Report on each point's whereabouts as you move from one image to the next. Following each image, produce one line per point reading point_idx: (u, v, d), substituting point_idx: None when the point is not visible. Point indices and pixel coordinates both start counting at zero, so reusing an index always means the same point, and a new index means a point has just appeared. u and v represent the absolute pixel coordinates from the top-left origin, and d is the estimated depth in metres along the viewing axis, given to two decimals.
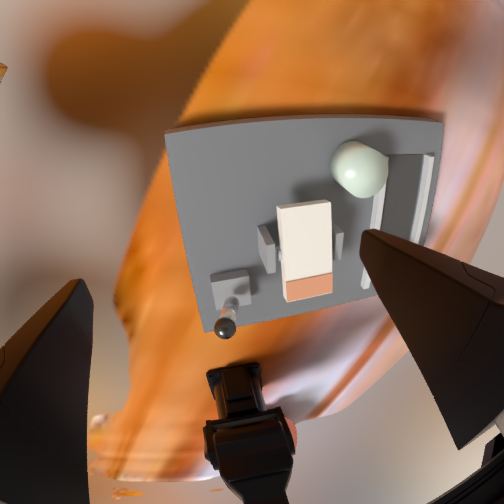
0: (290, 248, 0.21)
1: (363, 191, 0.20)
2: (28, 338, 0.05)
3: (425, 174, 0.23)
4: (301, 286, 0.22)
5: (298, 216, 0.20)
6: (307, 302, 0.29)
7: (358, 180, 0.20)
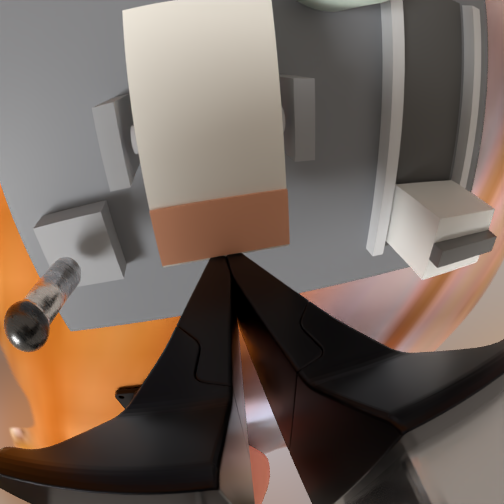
0: (152, 111, 0.06)
1: None
2: (214, 314, 0.06)
3: (471, 35, 0.08)
4: (194, 225, 0.08)
5: (172, 25, 0.06)
6: None
7: None
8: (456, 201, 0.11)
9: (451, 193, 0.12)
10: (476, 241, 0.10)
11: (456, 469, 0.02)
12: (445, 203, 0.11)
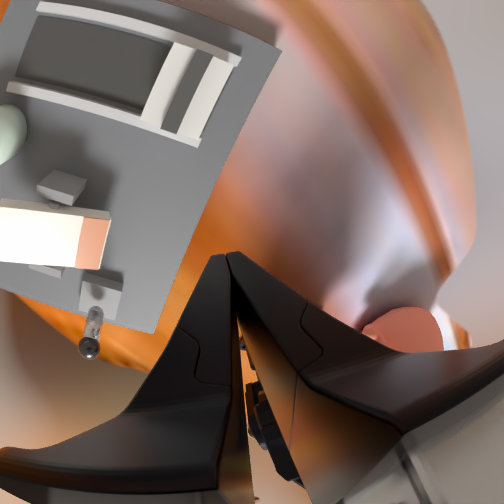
0: (38, 257, 0.15)
1: (0, 148, 0.12)
2: (214, 314, 0.06)
3: (58, 13, 0.10)
4: (85, 254, 0.17)
5: (7, 245, 0.13)
6: (174, 228, 0.20)
7: None
8: None
9: None
10: (180, 81, 0.12)
11: (456, 469, 0.02)
12: None
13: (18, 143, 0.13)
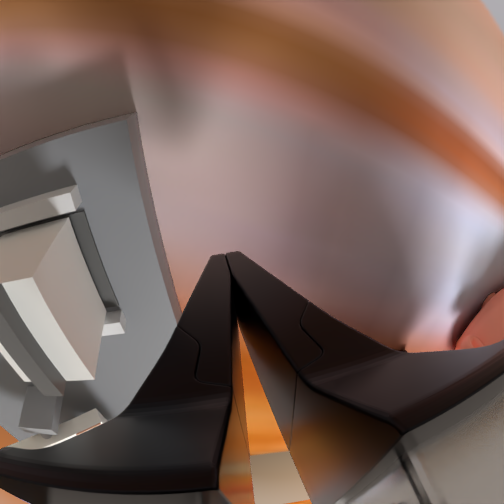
0: None
1: None
2: (214, 314, 0.06)
3: None
4: None
5: None
6: None
7: None
8: None
9: None
10: (4, 347, 0.06)
11: (456, 469, 0.02)
12: None
13: None
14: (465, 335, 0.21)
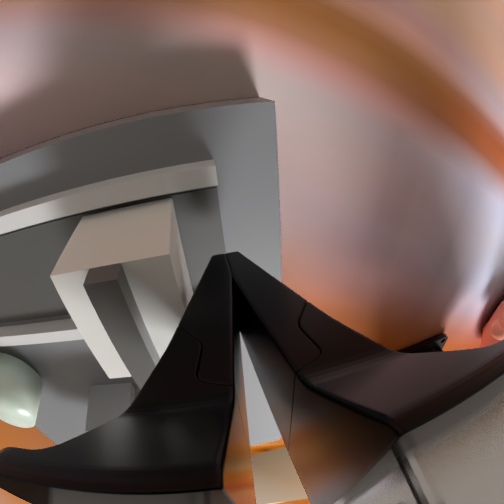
0: None
1: (22, 413, 0.10)
2: (216, 313, 0.06)
3: None
4: None
5: None
6: None
7: (17, 417, 0.10)
8: None
9: None
10: (110, 338, 0.07)
11: (454, 471, 0.02)
12: None
13: (35, 390, 0.11)
14: (493, 320, 0.22)
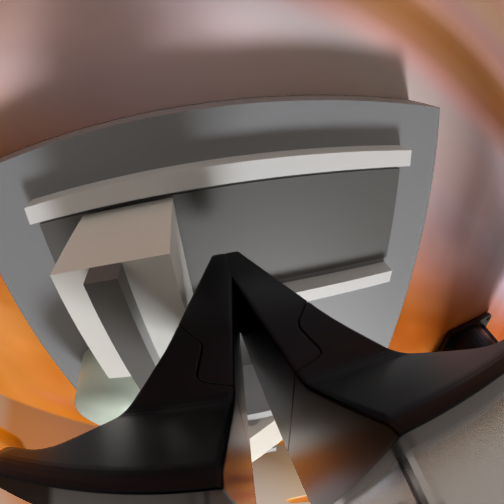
0: (255, 457, 0.14)
1: None
2: (216, 313, 0.06)
3: (74, 211, 0.08)
4: None
5: None
6: None
7: None
8: None
9: None
10: (110, 337, 0.07)
11: (454, 470, 0.02)
12: None
13: None
14: None
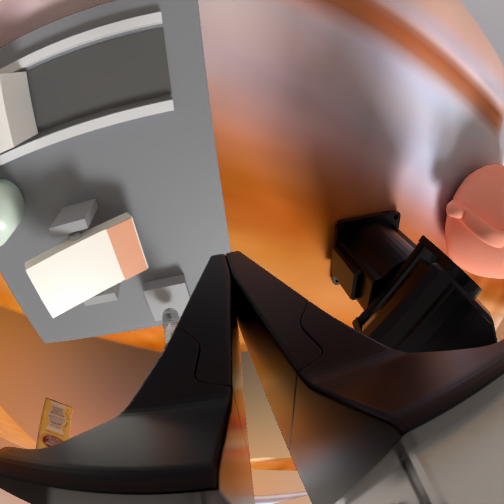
0: (87, 291, 0.16)
1: (2, 219, 0.13)
2: (214, 313, 0.06)
3: None
4: (128, 262, 0.17)
5: (53, 298, 0.15)
6: (201, 196, 0.19)
7: None
8: None
9: None
10: None
11: (456, 469, 0.02)
12: None
13: (17, 206, 0.14)
14: None
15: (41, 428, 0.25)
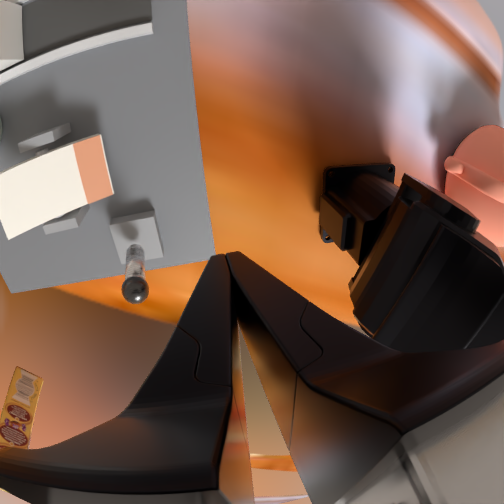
0: (47, 212, 0.14)
1: None
2: (214, 314, 0.06)
3: None
4: (92, 183, 0.15)
5: (11, 216, 0.13)
6: (175, 121, 0.16)
7: None
8: None
9: None
10: None
11: (456, 469, 0.02)
12: None
13: None
14: None
15: (7, 396, 0.23)
